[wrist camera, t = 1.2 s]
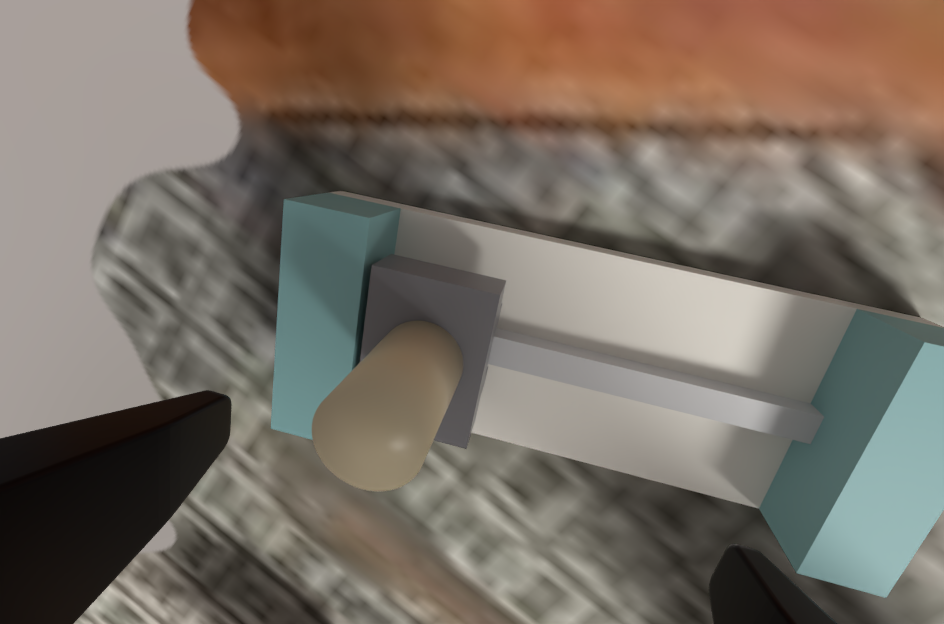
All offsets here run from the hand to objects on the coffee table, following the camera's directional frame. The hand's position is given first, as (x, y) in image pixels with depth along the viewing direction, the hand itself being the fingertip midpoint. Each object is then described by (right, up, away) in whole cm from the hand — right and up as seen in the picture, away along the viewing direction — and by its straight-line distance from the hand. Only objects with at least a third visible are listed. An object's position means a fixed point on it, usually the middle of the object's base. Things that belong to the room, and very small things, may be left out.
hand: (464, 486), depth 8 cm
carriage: (-1, +2, +11) cm, 11 cm away
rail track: (+5, +1, +12) cm, 13 cm away
